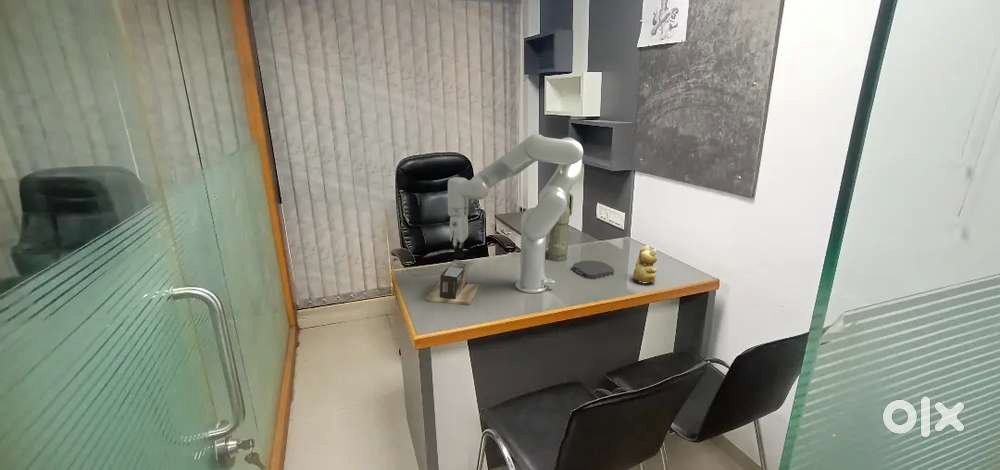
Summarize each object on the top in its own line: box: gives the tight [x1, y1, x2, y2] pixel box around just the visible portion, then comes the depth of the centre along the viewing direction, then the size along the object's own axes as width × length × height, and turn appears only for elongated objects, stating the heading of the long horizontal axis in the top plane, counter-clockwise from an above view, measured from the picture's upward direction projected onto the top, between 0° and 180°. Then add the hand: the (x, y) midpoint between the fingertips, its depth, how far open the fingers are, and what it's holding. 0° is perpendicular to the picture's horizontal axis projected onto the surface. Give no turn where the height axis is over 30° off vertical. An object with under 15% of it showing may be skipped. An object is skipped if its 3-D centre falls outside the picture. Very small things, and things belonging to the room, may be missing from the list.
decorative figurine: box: [633, 244, 658, 283], centre depth 185 cm, size 10×8×15 cm
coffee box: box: [439, 259, 470, 299], centre depth 173 cm, size 9×6×16 cm
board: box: [426, 281, 480, 306], centre depth 173 cm, size 16×16×1 cm
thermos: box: [547, 191, 574, 262], centre depth 208 cm, size 9×12×35 cm
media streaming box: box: [572, 259, 615, 280], centre depth 197 cm, size 15×15×3 cm
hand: (458, 256), depth 177 cm, fingers closed
